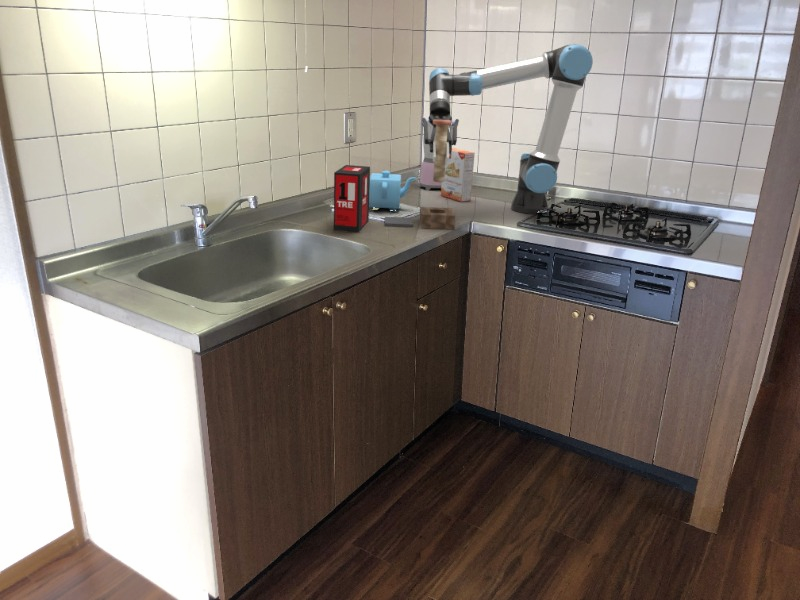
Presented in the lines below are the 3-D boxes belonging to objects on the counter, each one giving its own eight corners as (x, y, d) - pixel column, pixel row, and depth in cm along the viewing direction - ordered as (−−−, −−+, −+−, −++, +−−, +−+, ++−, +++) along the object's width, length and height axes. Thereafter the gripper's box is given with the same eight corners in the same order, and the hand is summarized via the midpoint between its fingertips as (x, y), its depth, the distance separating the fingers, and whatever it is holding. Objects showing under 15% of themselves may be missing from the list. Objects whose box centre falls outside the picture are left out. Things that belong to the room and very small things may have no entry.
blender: (428, 191, 296) (433, 118, 285) (414, 186, 306) (418, 115, 295) (456, 189, 304) (462, 118, 293) (441, 184, 314) (446, 115, 303)
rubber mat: (411, 220, 245) (411, 217, 245) (412, 227, 236) (412, 224, 235) (384, 219, 244) (385, 216, 244) (385, 225, 235) (385, 223, 235)
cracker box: (439, 196, 288) (443, 147, 281) (450, 194, 292) (453, 147, 284) (460, 202, 278) (464, 152, 271) (471, 201, 281) (475, 152, 274)
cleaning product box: (358, 232, 226) (360, 174, 218) (333, 230, 227) (334, 172, 220) (368, 221, 241) (370, 166, 234) (345, 219, 242) (345, 164, 235)
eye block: (451, 221, 246) (452, 208, 245) (454, 229, 235) (455, 215, 233) (419, 219, 246) (420, 206, 244) (421, 228, 235) (422, 214, 233)
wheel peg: (446, 179, 238) (450, 119, 230) (448, 183, 232) (452, 121, 224) (429, 179, 238) (432, 119, 230) (430, 182, 232) (433, 121, 224)
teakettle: (383, 216, 249) (384, 177, 244) (351, 206, 262) (352, 169, 256) (417, 209, 262) (419, 173, 256) (385, 201, 274) (387, 165, 269)
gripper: (461, 114, 242) (463, 166, 232) (415, 112, 241) (416, 165, 231) (464, 100, 235) (466, 153, 225) (417, 98, 234) (417, 152, 225)
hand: (441, 159), depth 228 cm, fingers closed on wheel peg, 4 cm apart
